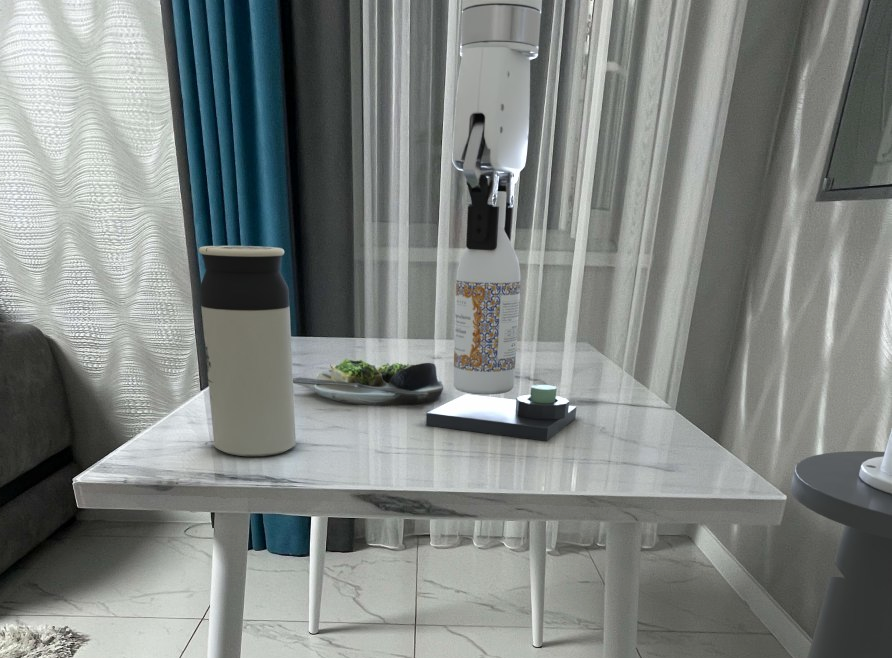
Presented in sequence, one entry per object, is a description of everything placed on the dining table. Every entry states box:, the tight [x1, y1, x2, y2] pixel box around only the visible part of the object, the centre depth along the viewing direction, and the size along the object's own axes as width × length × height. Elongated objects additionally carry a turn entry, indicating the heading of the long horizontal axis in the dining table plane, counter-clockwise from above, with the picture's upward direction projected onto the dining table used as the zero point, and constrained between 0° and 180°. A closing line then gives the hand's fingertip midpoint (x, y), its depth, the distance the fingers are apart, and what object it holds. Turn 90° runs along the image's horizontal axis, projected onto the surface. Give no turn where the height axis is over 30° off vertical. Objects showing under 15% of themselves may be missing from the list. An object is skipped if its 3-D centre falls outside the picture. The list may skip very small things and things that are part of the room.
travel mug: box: [198, 245, 297, 457], centre depth 76 cm, size 8×8×18 cm
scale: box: [425, 393, 578, 442], centre depth 92 cm, size 14×12×3 cm
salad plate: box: [293, 358, 444, 406], centre depth 104 cm, size 19×18×5 cm
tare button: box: [529, 384, 557, 403], centre depth 90 cm, size 3×3×2 cm
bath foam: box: [452, 191, 522, 396], centre depth 88 cm, size 7×7×20 cm
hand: (488, 247), depth 86 cm, fingers closed on bath foam, 3 cm apart
